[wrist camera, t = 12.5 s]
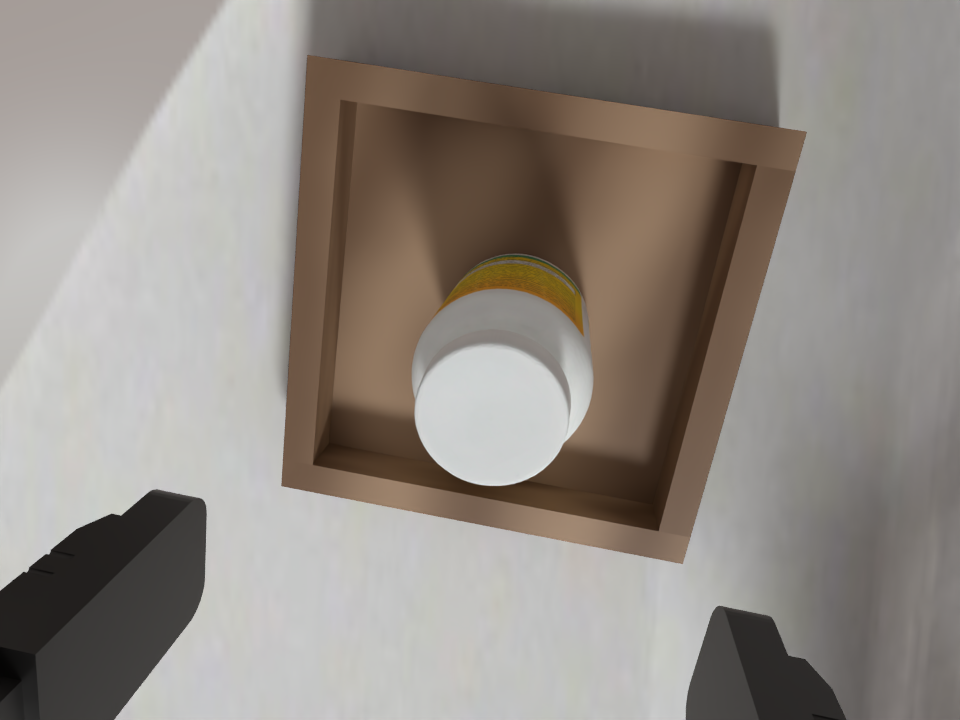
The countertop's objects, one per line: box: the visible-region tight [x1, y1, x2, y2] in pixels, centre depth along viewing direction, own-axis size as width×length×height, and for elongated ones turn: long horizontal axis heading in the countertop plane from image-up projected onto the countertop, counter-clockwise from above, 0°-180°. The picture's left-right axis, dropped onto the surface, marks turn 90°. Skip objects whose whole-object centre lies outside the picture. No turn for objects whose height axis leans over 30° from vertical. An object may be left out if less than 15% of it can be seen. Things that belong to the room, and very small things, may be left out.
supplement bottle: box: [412, 254, 593, 486], centre depth 22 cm, size 5×5×10 cm
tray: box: [282, 55, 807, 564], centre depth 27 cm, size 16×16×3 cm
